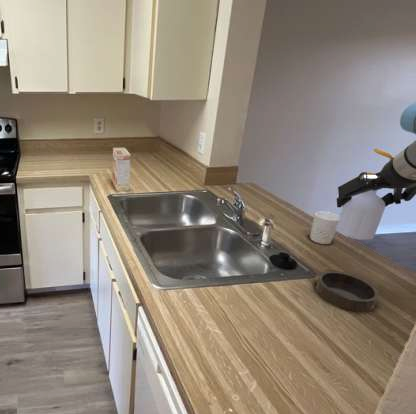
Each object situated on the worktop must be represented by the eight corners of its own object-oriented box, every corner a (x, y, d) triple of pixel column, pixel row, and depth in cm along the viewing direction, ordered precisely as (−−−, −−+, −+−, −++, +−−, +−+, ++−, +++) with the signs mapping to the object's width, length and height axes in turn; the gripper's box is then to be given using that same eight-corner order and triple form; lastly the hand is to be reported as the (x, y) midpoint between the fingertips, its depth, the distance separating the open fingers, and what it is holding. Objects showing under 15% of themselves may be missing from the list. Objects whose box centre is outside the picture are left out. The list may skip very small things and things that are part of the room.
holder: (366, 287, 97) (370, 278, 96) (380, 317, 86) (385, 306, 84) (312, 276, 102) (315, 267, 101) (319, 303, 91) (323, 293, 90)
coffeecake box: (112, 181, 186) (112, 147, 178) (124, 181, 186) (125, 147, 178) (116, 191, 172) (116, 154, 164) (129, 190, 173) (131, 154, 165)
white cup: (303, 235, 127) (309, 212, 123) (321, 234, 128) (328, 210, 124) (319, 246, 119) (327, 221, 115) (338, 244, 121) (346, 219, 117)
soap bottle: (334, 224, 102) (359, 145, 92) (371, 230, 98) (401, 149, 88) (336, 235, 95) (363, 152, 85) (375, 243, 91) (409, 156, 81)
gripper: (357, 178, 77) (316, 212, 97) (472, 185, 72) (403, 220, 92) (354, 150, 80) (314, 190, 100) (465, 155, 75) (399, 196, 95)
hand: (357, 204), depth 96 cm, fingers closed on soap bottle, 9 cm apart
